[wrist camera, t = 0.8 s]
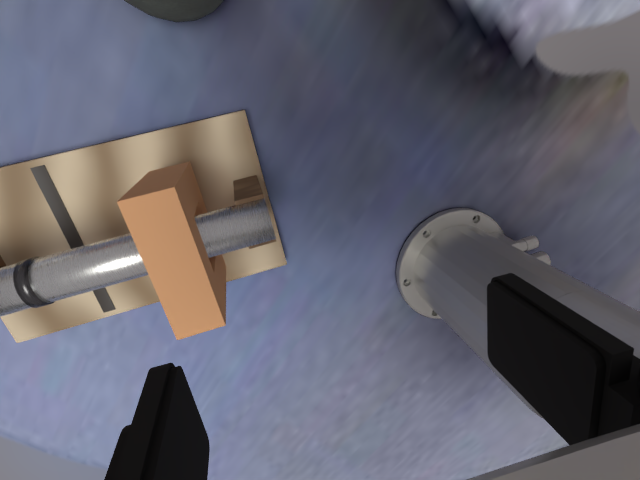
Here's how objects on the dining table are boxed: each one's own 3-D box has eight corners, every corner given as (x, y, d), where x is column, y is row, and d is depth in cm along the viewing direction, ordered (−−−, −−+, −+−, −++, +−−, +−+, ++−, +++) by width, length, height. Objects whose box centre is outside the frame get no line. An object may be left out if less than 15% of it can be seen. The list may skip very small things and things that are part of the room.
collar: (189, 161, 29) (174, 187, 20) (226, 266, 32) (225, 325, 24) (149, 171, 28) (116, 201, 20) (190, 277, 32) (177, 340, 23)
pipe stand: (244, 109, 32) (249, 113, 24) (284, 258, 37) (299, 300, 30) (-68, 183, 29) (-178, 214, 21) (25, 333, 34) (-35, 402, 26)
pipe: (262, 191, 28) (266, 202, 25) (273, 231, 29) (278, 246, 26) (-86, 283, 25) (-128, 308, 22) (-57, 323, 26) (-93, 352, 23)
